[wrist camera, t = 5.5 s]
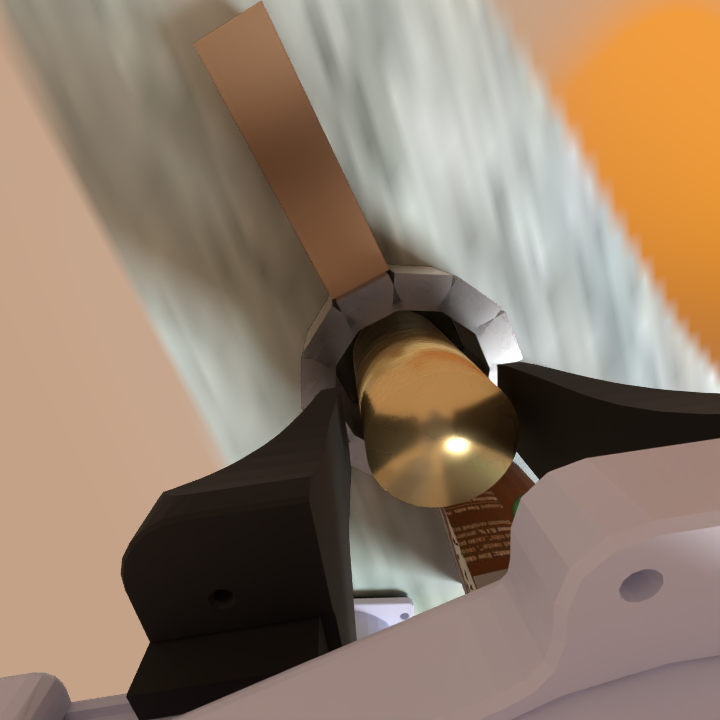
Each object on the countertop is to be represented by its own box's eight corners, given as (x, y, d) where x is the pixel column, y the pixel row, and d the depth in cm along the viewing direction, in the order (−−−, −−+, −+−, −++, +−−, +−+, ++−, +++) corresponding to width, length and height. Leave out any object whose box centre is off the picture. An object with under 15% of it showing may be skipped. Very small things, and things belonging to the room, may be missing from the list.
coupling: (568, 441, 18) (612, 480, 15) (241, 439, 17) (222, 481, 14) (668, 75, 13) (759, 33, 10) (214, 34, 12) (176, -27, 9)
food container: (570, 571, 21) (759, 846, 12) (467, 601, 21) (571, 893, 12) (540, 385, 17) (796, 580, 8) (412, 425, 17) (507, 662, 8)
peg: (451, 314, 16) (536, 377, 9) (436, 399, 17) (500, 509, 10) (357, 307, 15) (374, 367, 9) (349, 395, 17) (358, 505, 10)
